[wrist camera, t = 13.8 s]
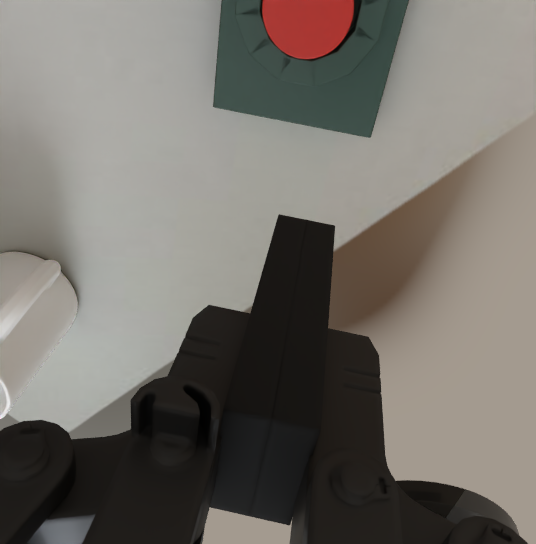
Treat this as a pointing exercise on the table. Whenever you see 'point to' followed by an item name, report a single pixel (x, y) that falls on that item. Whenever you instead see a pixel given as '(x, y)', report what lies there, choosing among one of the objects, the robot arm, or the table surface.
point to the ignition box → (307, 69)
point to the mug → (30, 319)
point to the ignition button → (307, 25)
